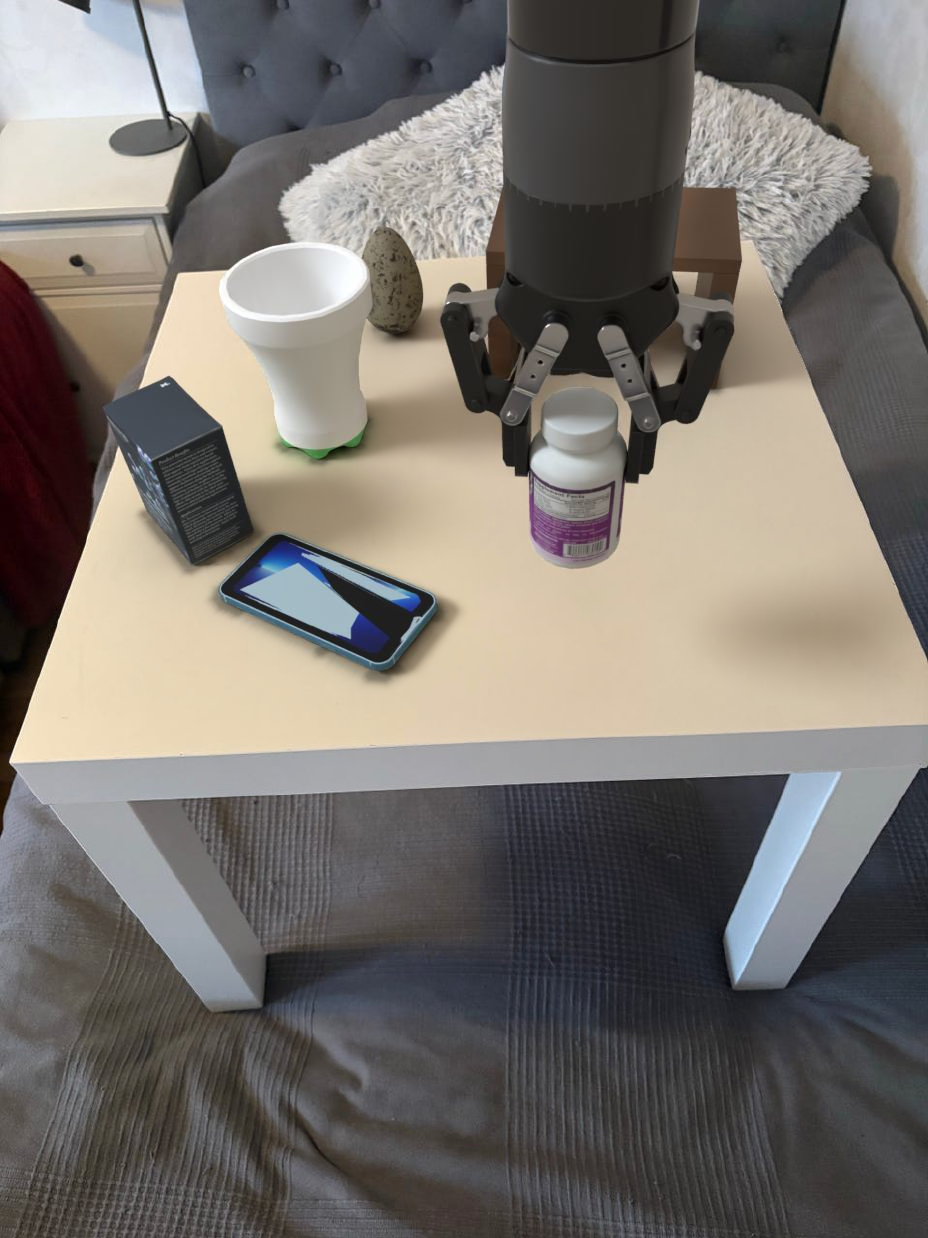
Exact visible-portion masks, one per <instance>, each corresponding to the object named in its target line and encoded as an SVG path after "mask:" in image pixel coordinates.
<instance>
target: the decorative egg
mask: <svg viewBox="0 0 928 1238" xmlns="http://www.w3.org/2000/svg"><path fill="white" fill-rule="evenodd" d="M361 258H362V259H363V260H364V261H365V263H366V265H367V267H368V269H369V274H370V283H371V293H372V303H373V305H372V309H371V311H370V313H369V314H368V316H367V318H366V320H367V321H369V323H370V324H371V325H372V326H373V327H374V328H375V329H377V330H378V331H381V332H383V333H386V334H389V335H390V334H391V335H395V334H401V333H405V332H406V331H408V330H409V329H410V328H412V326H414V325H415V323H416V322H417V321H418V319H419V317H420V315H421V312H422V309H423V305H424V286H423V281H422V276H421V273H420V269H419V267H418V264H417V261H416V259H415V257H414V255H413V253H412V250H411V249H410V246H409V245H408V243H407V242H406V241H405V239H404V238H403V236H402V235H401V234H400V233H399V232H398V231H396V229H393V228H392V227H388V226H381V227H378V228H376V229H375V230H374V231H373V232H372V233H371V234H370V236H369V237H368V239H367V241H366V243H365V245H364V248H363V251H362V255H361Z"/></svg>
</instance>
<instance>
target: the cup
mask: <svg viewBox="0 0 928 1238" xmlns="http://www.w3.org/2000/svg"><path fill="white" fill-rule="evenodd" d="M218 290H219V291H218V293H219V296H220V299H221V303H222V306H223V308H224V313H225V316H226V319H227V322H228V325H229V327H230V329H231V330H232V331H233V332H234V333H235V335H237V336H238V337H239V338H240V339H241V340H242V341H243V342H244V343H245V345H246V346H247V348H248V350H250V352H251V354H252V356H253V357H254V358H255V360H256V362H257V363H258V365H259V367H260V369H261V371H262V373H263V374H264V377H265V379H266V381H267V384H268V385H269V389H270V392H271V395H272V399H273V402H274V403H273V415H274V420H275V424H276V428H277V431H278V435H279V437H280V440H281V441H282V443H283V444H284V446H285V447H287V448H288V447H289V448H296V449H297V448H298V449H300V450H301V451H303V452H305V453H306V454H308V455H309V456H311V457H312V458H314V459H322V458H324V457H326V456H327V455H328V454H329V452H330V451H332V450H334V449H336V448H339V447H342V446H344V447H346V448H353V447H357V446H358V445H359V444H360V443H361V440H362V437H363V434H364V431H365V428H366V425H367V423H368V421H369V420H368V410H367V404H366V398H365V396H364V394H363V392H362V389H361V384H360V383H361V382H360V354H361V353H360V352H361V346H362V340H363V333H364V330H365V326H366V322H367V316H368V314H369V313H370V311H371V309H372V305H373V303H372V293H371V283H370V274H369V269H368V267H367V265H366V263H365V261H364V260H363V259H362V257H361V256H359V255H358V254H357V253H356V252H354V251H352V250H350V249H347V248H345V247H344V246H342V245H337V244H332V243H328V242H327V243H326V242H314V241H301V242H290V243H283V244H278V245H272V246H269V247H266V248H264V249H260V250H258V251H256V252H255V251H254V252H253V253H251V254H249V255H247V256H245V257H244V258H242V259H240V260H239V261H238V262H236V263H235V264H234V265H233V266H231V268H229V269H228V270H227V272H226V273H225V274H224V275H223V277H222V278H221V279H220V281H219V289H218Z"/></svg>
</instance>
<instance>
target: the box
mask: <svg viewBox="0 0 928 1238" xmlns="http://www.w3.org/2000/svg"><path fill="white" fill-rule="evenodd" d="M102 410H103V412H104V414H105V417H106V420H107V422H108V424H109V427H110V428H111V429H110V430H111V431H112V433H113V435H114V438H115V441H116V443H117V445H118V447H119V451H120V452H121V455H122V457H123V459H124V462H125V464H126V466H127V468H128V471H129V473H130V476H131V478H132V480H133V482H134V485H135V487H136V489H137V492H138V494H139V496H140V499H141V501H142V504H143V506H144V508H145V510H146V513H147V514H148V515H150V517H151V518H152V519H153V521H154V522H155V523H156V524H157V525H158V526H159V528H160V529H161V530H162V531H163V533H165V535H166V536H167V537H168V538H169V540H170V541H171V543H173V544H174V546H176V548H177V549H178V550H179V551H180V554H182V555H183V556H184V557H185V559H186V560H187V562H188V563H189V564H190V565H197V564H198V563H200V562H202V561H205V560H206V559H208V558H210V557H211V556H213V555H216V554H217V553H219V552H221V551H223V550H226V549H227V548H229V547H230V546H232V545H234V544H236V543H238V542H240V541H241V540H244V539H246V538H247V537H249V536H251V535H252V534H254V533H255V530H254V526H253V523H252V519H251V516H250V512H249V509H248V506H247V503H246V500H245V496H244V493H243V490H242V487H241V483H240V480H239V477H238V473H237V471H236V470H237V469H236V467H235V464H234V460H233V457H232V454H231V450H230V448H229V444H228V441H227V437H226V434H225V430H224V428H223V425H222V424H221V423H220V422H219V421H217V420H216V419H215V418H214V417H213V416H212V415H210V413H208V411H207V410H206V409H205V408H203V407H202V406H201V405H200V404H199V403H198V402H197V401H196V400H195V399H194V398H193V397H192V396H191V395H190V394H189V393H188V392H187V391H186V390H185V389H184V388H183V387H182V386H181V385H180V384H179V382H177V381H176V380H175V378H173V377H172V376H170V375H167V376H165V377H163V378H162V379H159V380H157V381H154V382H153V383H150V384H148V385H146V386H144V387H141V388H139V389H136V390H134V391H132V392H130V393H127V394H125V395H123V396H121V397H119V398H116V399H115V400H113V401H111V402H109V403H107V404H105V405H104V406H102Z"/></svg>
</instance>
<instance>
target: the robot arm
mask: <svg viewBox="0 0 928 1238" xmlns="http://www.w3.org/2000/svg"><path fill="white" fill-rule="evenodd" d="M700 1H701V0H505V25H506V26H505V28H506V29H505V30H506V36H505V37H506V39H505V40H506V41H505V60H504V69H503V78H502V89H501V142H502V143H501V144H502V145H501V148H502V187H503V199H504V244H505V273H504V275H503V277H502V279H501V280H500V282H499V285H498V288H493V289H487V288H486V289H481V290H475V291H472V289H471V288H470V286H468V285H467V284H465V283H462V282H456V283H454V284H451V286H450V287H449V288H448V291H447V295H446V298H445V302H444V304H443V308H442V311H441V315H440V318H439V323H440V326H441V329H442V334H443V336H444V339H445V343H446V346H447V350H448V353H449V356H450V359H451V363H452V367H453V369H454V370H453V371H454V373H455V376H456V379H457V383H458V386H459V389H460V393H461V396H462V400H463V403H464V406H465V408H466V409H467V411H469V412H470V413H472V414H483V413H485V412H488V413H491V414H494V415H495V416H496V417H498V419H499V420H500V423H501V451H502V452H501V453H502V461H503V463H504V464H505V467H509V468H514V477H517V478H518V477H519V478H529V449H530V445H531V442H532V402H533V400H534V399H535V398H536V397H537V396H538V395H539V394H540V391H541V389H542V387H543V385H544V384H545V381H546V380H547V377H548V375H550V376H559V377H567V376H572V375H573V376H574V375H577V374H584V375H589V376H592V377H595V378H607V379H609V378H610V379H615V383H616V384H617V387H618V389H619V392H620V395H621V396H622V399H623V401H624V402H626V403H627V405H628V407H629V410H630V413H631V414H630V422H629V431H628V433H629V434H628V443H627V452H628V458H627V468H626V479H625V484H635V485H638V484H639V481H640V475H645V476H648V475H650V474H651V472H652V470H653V469H654V467H655V465H654V464H655V458H656V449H657V442H658V434H659V430H660V429H661V428H662V426H664V425H665V424H667V423H671V422H673V421H675V422H677V423H679V424H682V425H689V424H693V423H695V422H696V421H697V420H698V418H699V417H700V414H701V411H702V410H703V408H704V405H705V403H706V400H707V397H708V396H709V394H710V391H711V389H710V388H711V386H712V384H713V381H714V379H715V377H716V374H717V372H718V370H719V367H720V365H721V366H722V363H723V360H724V358H725V356H726V353H727V351H728V348H729V346H730V345H731V341H732V339H733V337H734V335H735V332H736V331H735V311H734V303H733V300H732V297H731V295H730V294H729V293H727V292H724V291H718V292H715V293H713V294H711V295H710V296H709V297H708V299H705V298H700V297H696V296H694V295H691V294H686V293H681V292H680V290H679V286H678V283H677V282H676V280H675V277H674V273H673V272H674V271H673V263H674V255H675V247H676V239H677V231H678V223H679V215H680V207H681V199H682V191H683V187H684V183H685V173H686V165H687V160H688V159H687V158H688V151H689V144H690V140H691V136H692V120H693V113H694V112H693V111H694V102H695V101H694V100H695V79H696V77H695V72H696V71H695V69H696V68H695V48H696V47H695V44H696V34H697V33H696V32H697V31H696V30H697V29H696V28H697V26H698V25H697V24H698V16H699V9H700ZM497 315H498V317H499V318H500V319H501V321H502V322H503V323H504V324H505V326H506V327H507V328H508V329H509V330H510V332H511V333H512V334H513V335H514V337H515V338H516V339H517V340H518V344H520V345H521V349H520V352H519V355H518V358H517V360H516V362H515V365H514V366H513V371H512V373H511V375H510V377H509V378H507V379H506V378H499V377H496V376H494V373H493V369H492V365H491V362H490V358H489V354H488V346H487V344H486V340H485V338H486V337H488V331H489V327H490V322H491V319H492V318H493V317H494V316H497ZM675 322H676V323H678V324H679V325H681V327H682V341H683V343H684V344H685V345H686V346H687V347H688V348H687V350H686V353H685V356H684V357H683V361H682V363H681V366H680V368H679V371H678V373H677V375H676V379H675V381H674V383H671V384H667V385H662V386H660V384H659V381H658V378H657V376H656V372H655V370H654V367H653V365H652V364H653V363H652V359H651V357H652V356H651V353H650V349H649V348H650V347H651V346H652V345H653V344H654V343H655V342H656V341H657V340H658V339H659V338H660V337H661V336H662V335H663V334H664V333H665V332H666V331H667V330H668V329H669V328H670V327H671V326H672V325H673V324H674V323H675Z"/></svg>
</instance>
